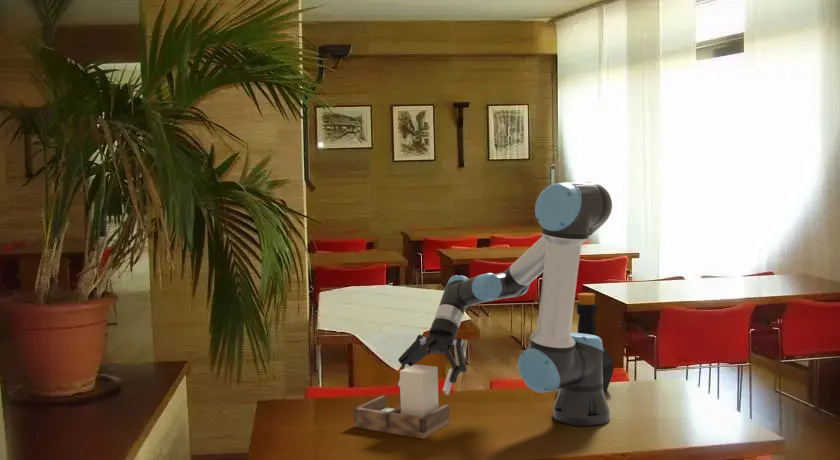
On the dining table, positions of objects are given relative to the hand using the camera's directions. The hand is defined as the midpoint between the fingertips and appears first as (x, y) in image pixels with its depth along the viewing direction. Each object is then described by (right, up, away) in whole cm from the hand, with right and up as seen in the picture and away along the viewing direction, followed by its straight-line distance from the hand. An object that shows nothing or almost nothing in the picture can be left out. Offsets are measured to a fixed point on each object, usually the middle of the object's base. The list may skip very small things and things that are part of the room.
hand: (422, 390), depth 201 cm
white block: (-1, -8, -1) cm, 8 cm away
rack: (-6, -10, +1) cm, 11 cm away
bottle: (+51, -7, +31) cm, 60 cm away
